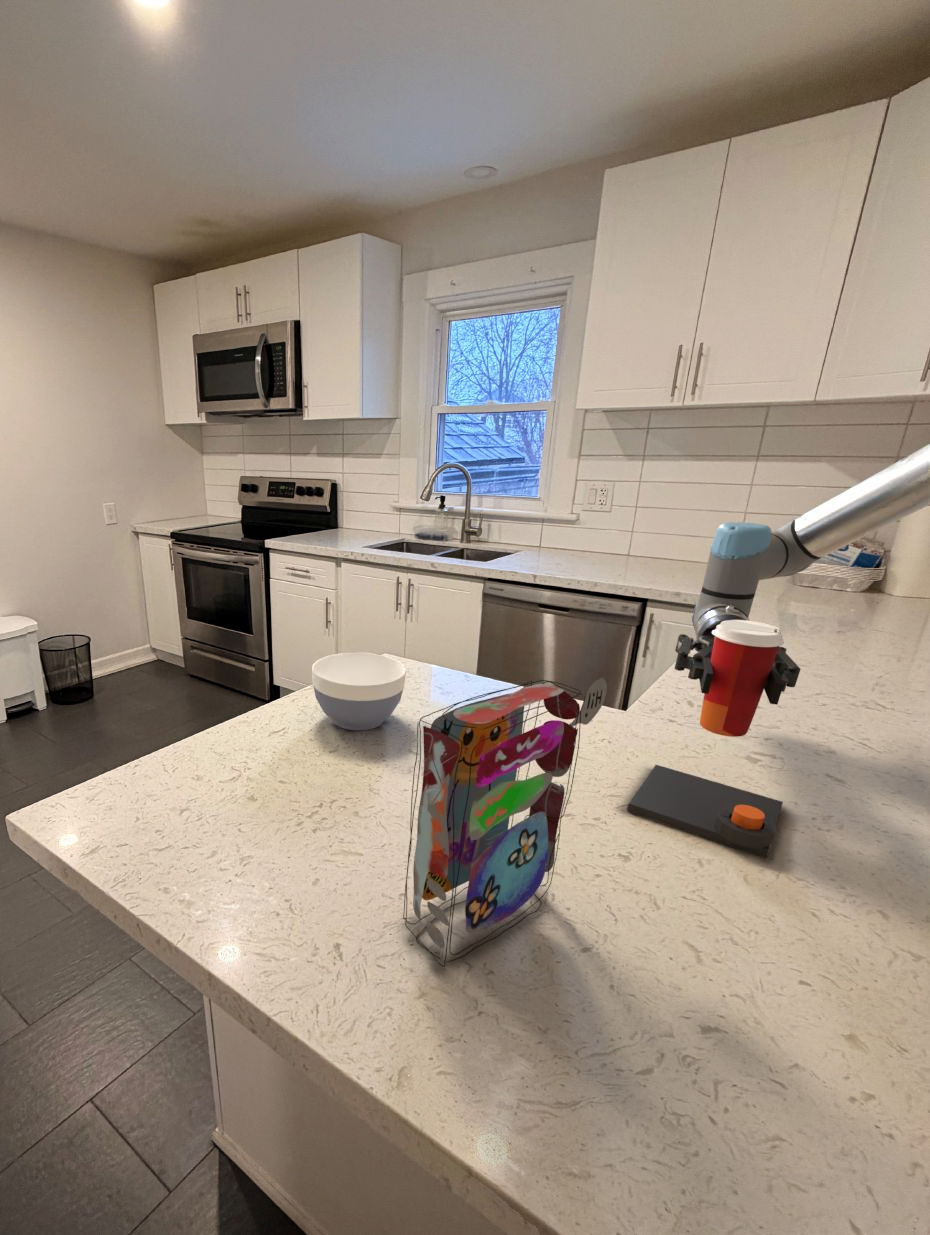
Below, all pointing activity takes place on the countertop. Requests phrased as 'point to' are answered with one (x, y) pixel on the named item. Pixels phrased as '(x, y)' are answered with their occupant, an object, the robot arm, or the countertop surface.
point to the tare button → (748, 817)
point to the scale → (705, 808)
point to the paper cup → (738, 674)
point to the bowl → (358, 688)
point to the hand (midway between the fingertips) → (741, 688)
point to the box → (492, 803)
